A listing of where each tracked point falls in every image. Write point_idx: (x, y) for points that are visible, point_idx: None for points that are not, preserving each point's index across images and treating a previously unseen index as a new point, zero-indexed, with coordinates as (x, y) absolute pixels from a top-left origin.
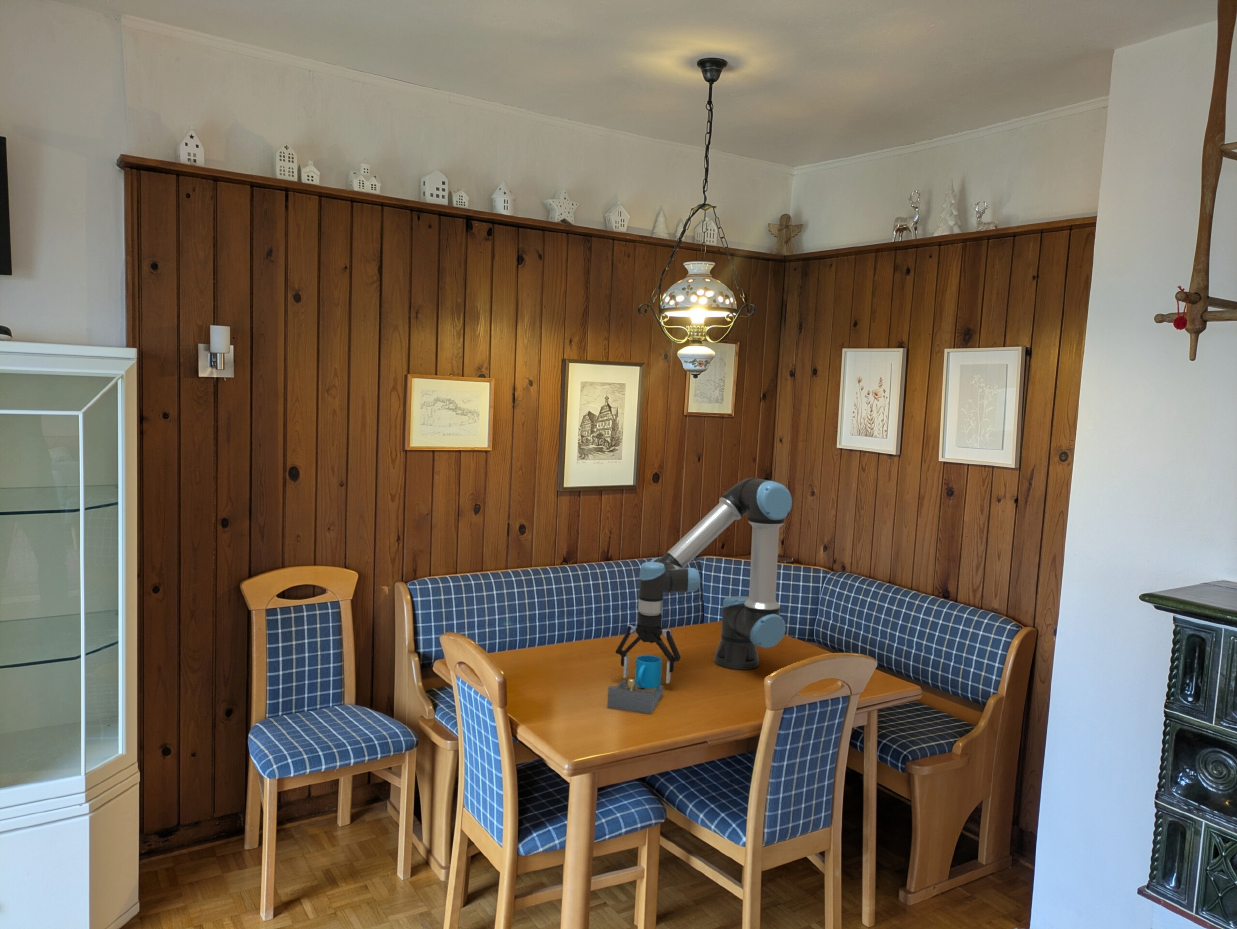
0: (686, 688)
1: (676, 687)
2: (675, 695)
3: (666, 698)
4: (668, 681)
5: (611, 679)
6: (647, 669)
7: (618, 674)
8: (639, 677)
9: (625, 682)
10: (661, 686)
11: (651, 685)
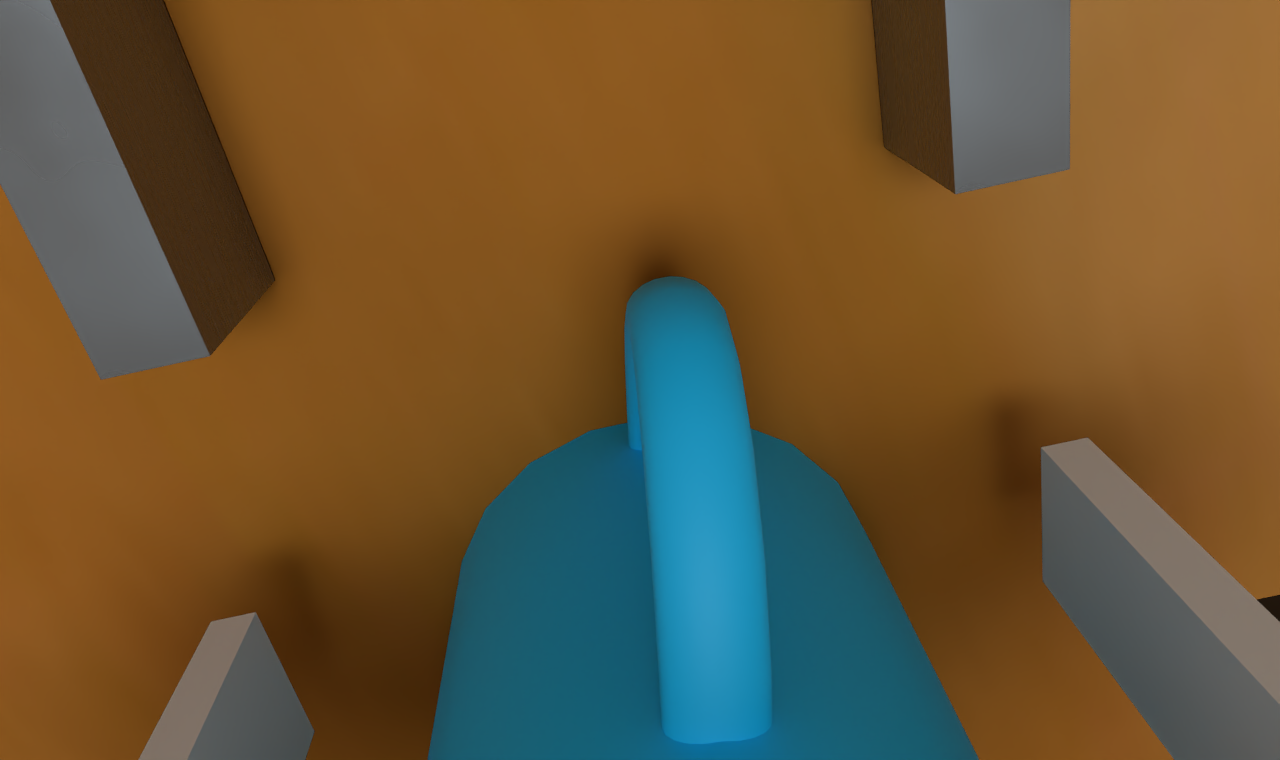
0: (96, 754)
1: None
2: (12, 420)
3: None
4: (197, 648)
5: (1261, 477)
6: (610, 671)
7: None
8: (672, 315)
9: (946, 87)
10: (93, 306)
11: (524, 500)
